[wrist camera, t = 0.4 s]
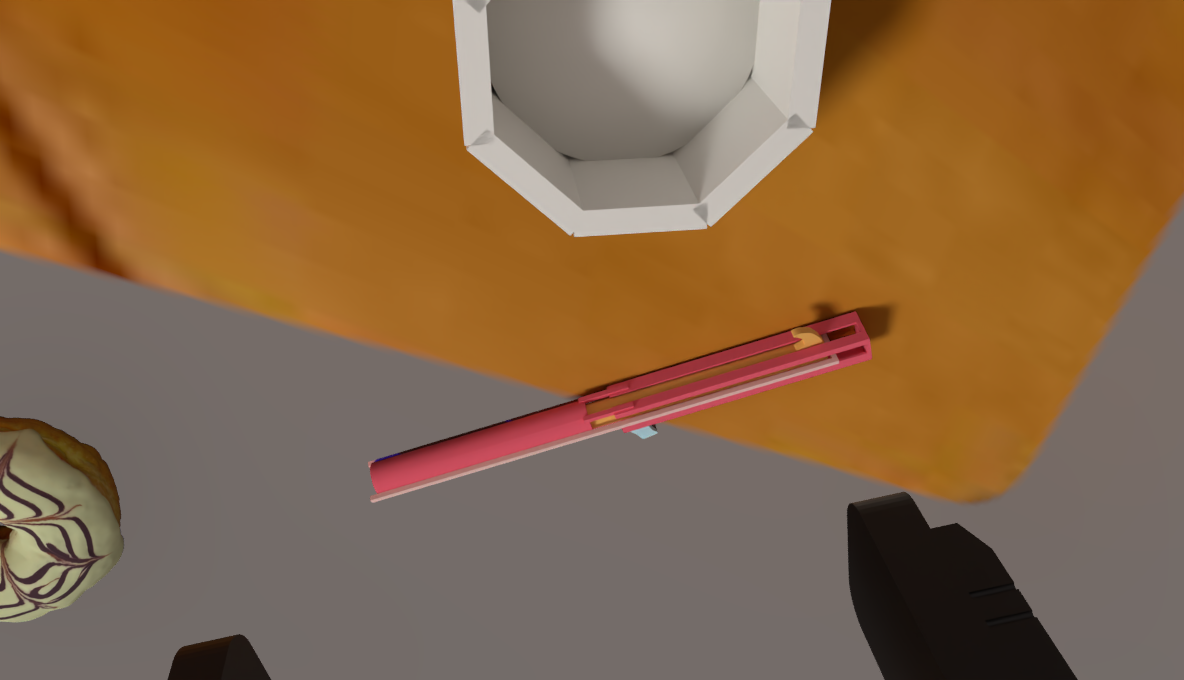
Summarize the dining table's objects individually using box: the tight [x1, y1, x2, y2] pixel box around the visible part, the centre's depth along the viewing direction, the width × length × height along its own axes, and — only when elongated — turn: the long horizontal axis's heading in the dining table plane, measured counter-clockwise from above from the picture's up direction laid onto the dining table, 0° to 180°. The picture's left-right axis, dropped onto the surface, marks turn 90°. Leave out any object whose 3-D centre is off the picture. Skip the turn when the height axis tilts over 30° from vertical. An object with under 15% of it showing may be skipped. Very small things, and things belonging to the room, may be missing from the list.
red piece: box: [368, 311, 872, 502], centre depth 45 cm, size 24×2×5 cm
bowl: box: [453, 0, 831, 237], centre depth 33 cm, size 12×12×6 cm
